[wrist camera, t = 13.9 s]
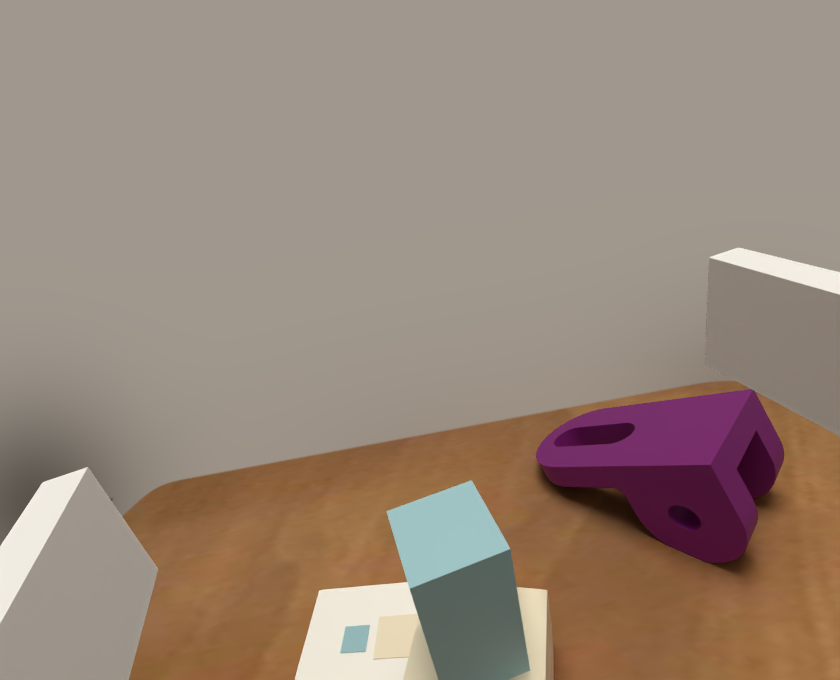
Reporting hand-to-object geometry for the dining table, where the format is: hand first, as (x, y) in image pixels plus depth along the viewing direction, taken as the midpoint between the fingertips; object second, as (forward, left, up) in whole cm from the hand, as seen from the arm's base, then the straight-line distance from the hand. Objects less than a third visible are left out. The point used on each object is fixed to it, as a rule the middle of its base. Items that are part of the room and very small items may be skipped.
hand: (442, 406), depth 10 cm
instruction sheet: (-14, +11, -30) cm, 35 cm away
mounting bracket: (+7, +28, -30) cm, 41 cm away
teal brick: (-5, +8, -24) cm, 25 cm away
